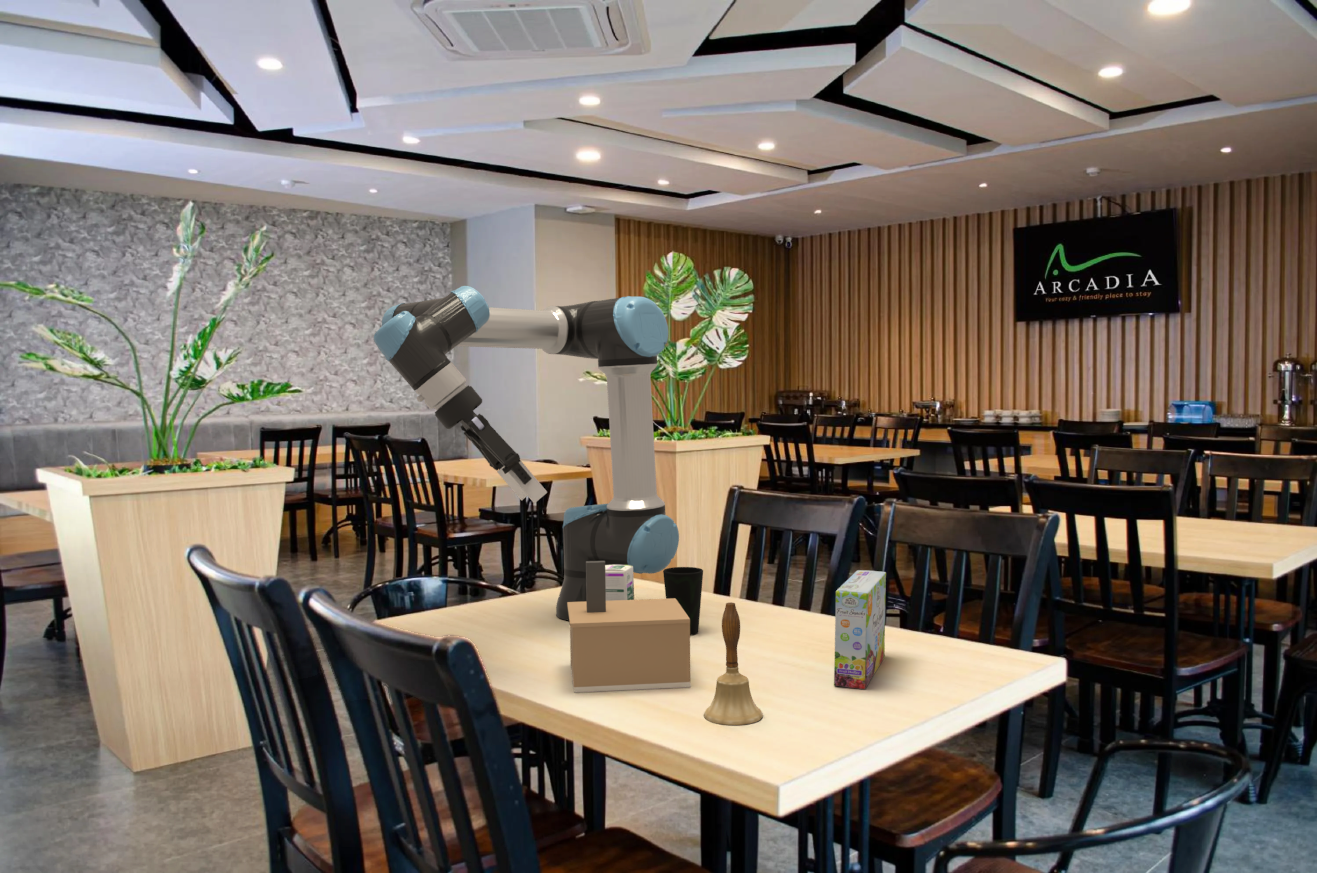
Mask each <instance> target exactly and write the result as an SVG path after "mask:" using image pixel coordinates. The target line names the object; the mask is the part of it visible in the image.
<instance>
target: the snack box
mask: <svg viewBox="0 0 1317 873" xmlns="http://www.w3.org/2000/svg"><path fill="white" fill-rule="evenodd" d="M886 578H887V572H886V571H877V570H863V569H862V570H860V569H858V570H856V571H855V572H854V573H853V574H852V575H851V576H850V577H848V579H847V580H846V581H844V582H843V583H842V584H841V585H840V587H838V588H837V590H836V591H835V615H834V616H835V617H834V618H835V621H834V622H835V624H834V626H835V627H834V665H833V666H834V667H833V671H834V672H833V674H834V675H833V686H834V687H841V688H849V689H859V690H866V689H867V687H868V685H869V684H870V682H871V680H873V678H874V675H875V673H876V672H877V670H878V668H879V667H880V665H881V664H882V662H883V661H884V659H885V657H886V654H885V652H886V651H885V649H886V648H885V647H886V645H885V644H886V640H885V639H886V633H885V631H886V591H887V590H886V585H887V584H886V582H887V580H886Z"/></svg>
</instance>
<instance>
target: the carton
mask: <svg viewBox="0 0 1317 873" xmlns="http://www.w3.org/2000/svg"><path fill="white" fill-rule="evenodd" d="M569 639H570V640H569V642H570V643H569V646H570V650H569V651H570V670H571V679H572V685H573V687H572V688H573V693H588V692H589V693H591V692H593V693H595V692H612V691H614V692H615V691H617V692H618V691H636V690H637V691H638V690H654V689H656V690H657V689H658V690H659V689H660V690H661V689H676V688H677V689H678V688H682V689H683V688H691V686H692V684H691V635H690V623H675V624H649V625H623V626H597V627H571V628H570V627H569Z"/></svg>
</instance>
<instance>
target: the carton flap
mask: <svg viewBox="0 0 1317 873" xmlns="http://www.w3.org/2000/svg"><path fill="white" fill-rule="evenodd" d="M567 607H568V614H569V620H568V621H569V629H570V628H571V627H597V626H623V625H649V624H675V623H690V618H689V617H688V615H687V614H686V613H685V611H684V610H683V608H682V607H681V605H680V604H679V603H678V601H677V600H676V598H670V599H666V598H652V599H651V598H650V599H645V598H644V599H634V600H614V601H606V585H605V561H586V601H585V602H567Z"/></svg>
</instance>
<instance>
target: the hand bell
mask: <svg viewBox="0 0 1317 873" xmlns="http://www.w3.org/2000/svg"><path fill="white" fill-rule="evenodd" d="M721 632H722V638H723V640H724V644H725V651H726V652H725V653H726V654H725V666H726V668H725V669H726V670H725V673H723V674H721V675H719V676H718V677H717V679H716V686H715V693H714V696H713V700H712V702H711V703H710V705H708V707H707V708H706V709H705V711H704V712H703V717H704V719H705V720H706V721H708V722H710V723H713V724H716V725H717V724H718V725H722V726H742V725H744V726H745V725H750V724H754V723H757V722H759V721H761V720H762V719H763V716H764V713H763V711H762V710H761V708H759V707H758V706H757V704H756V703H755V701H754V699H753V697H752V694H751V688H750V681H749V678H748V677H747V676H746V675H745V674H741V672H740V671H739V663H738V659H739V658H738V643H739V640H740V636H741V620H740V616H739V613H738V610H737V605H736V603H735V602H726V603H725V607H724V611H723V614H722V618H721Z"/></svg>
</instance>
